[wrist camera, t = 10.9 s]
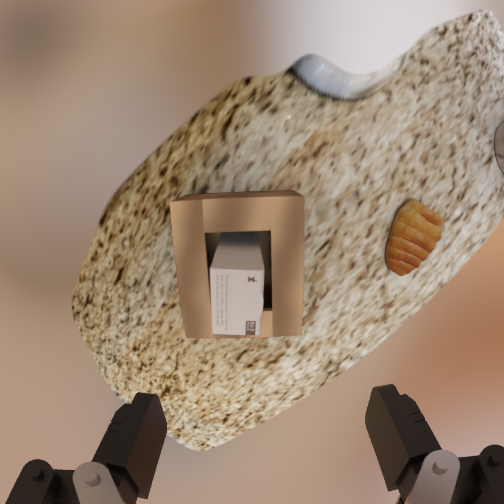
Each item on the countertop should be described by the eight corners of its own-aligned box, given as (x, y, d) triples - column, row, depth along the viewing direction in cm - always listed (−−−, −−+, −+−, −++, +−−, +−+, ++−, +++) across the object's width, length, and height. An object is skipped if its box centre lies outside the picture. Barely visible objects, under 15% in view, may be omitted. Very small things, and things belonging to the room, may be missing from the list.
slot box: (293, 190, 33) (304, 196, 26) (293, 305, 37) (301, 335, 30) (186, 194, 33) (169, 201, 26) (196, 307, 37) (185, 337, 30)
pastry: (408, 278, 36) (421, 289, 32) (370, 259, 35) (382, 269, 32) (439, 216, 34) (455, 221, 30) (402, 192, 33) (417, 195, 29)
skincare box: (220, 230, 34) (204, 264, 22) (260, 231, 34) (265, 266, 22) (220, 281, 35) (206, 335, 24) (258, 283, 35) (261, 337, 24)
